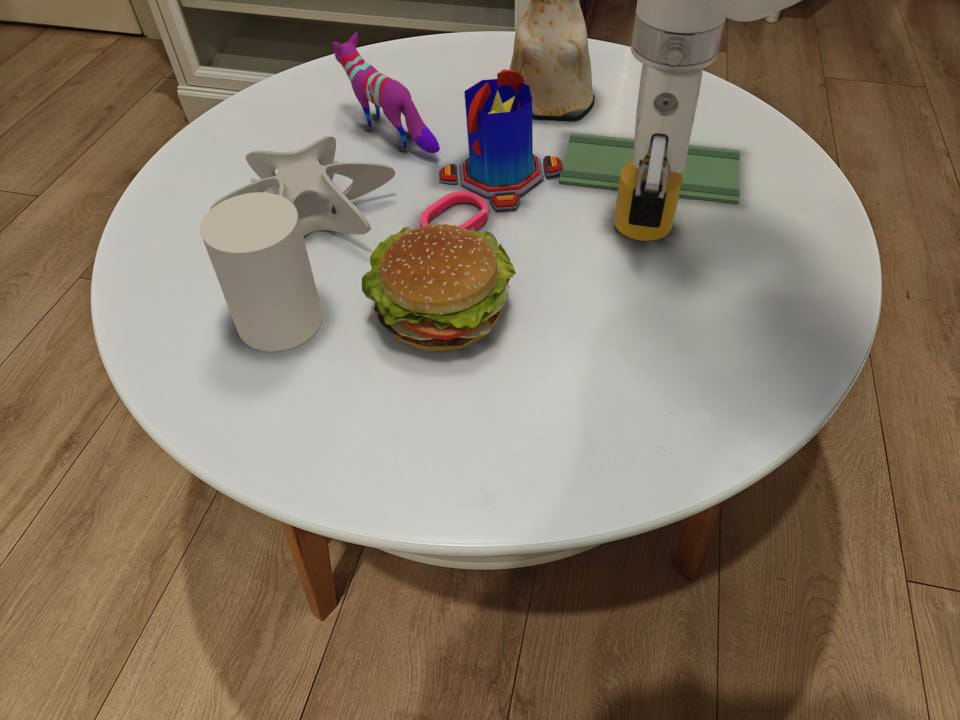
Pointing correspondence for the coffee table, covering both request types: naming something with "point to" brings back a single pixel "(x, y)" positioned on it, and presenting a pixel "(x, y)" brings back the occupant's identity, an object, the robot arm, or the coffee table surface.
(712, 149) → the green grooved tray
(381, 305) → the food
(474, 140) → the fantasy tower
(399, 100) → the magenta toy fox
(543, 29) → the figurine
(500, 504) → the coffee table surface
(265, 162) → the sculpture
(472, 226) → the fitness band
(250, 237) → the beige solid cylinder
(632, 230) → the yellow stemmed cylinder
